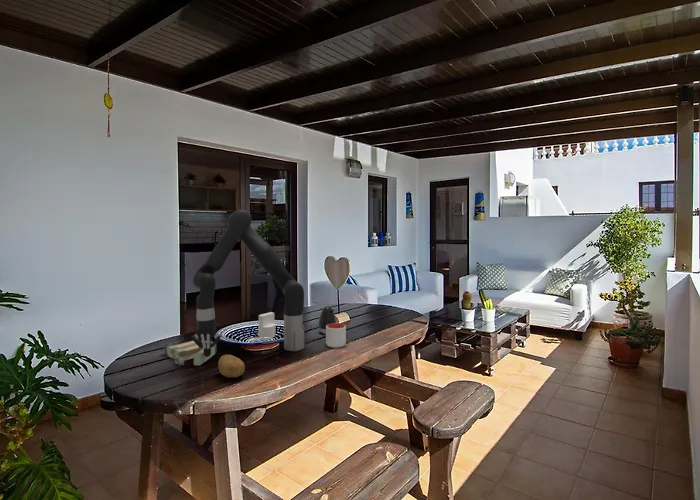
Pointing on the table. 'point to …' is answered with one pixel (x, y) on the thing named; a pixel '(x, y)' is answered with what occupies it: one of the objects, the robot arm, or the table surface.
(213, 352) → the leg
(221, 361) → the potato
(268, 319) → the base with upright slab
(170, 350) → the stool top
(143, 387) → the table surface
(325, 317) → the dark grey rounded piece
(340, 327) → the cup
